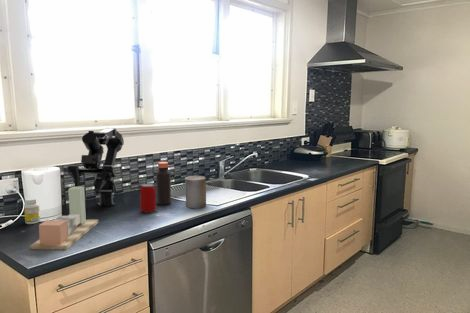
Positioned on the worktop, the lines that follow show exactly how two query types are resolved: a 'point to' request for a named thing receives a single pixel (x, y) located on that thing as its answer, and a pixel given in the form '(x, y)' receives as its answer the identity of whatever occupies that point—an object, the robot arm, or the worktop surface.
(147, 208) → the beverage can
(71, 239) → the base board
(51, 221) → the socket block
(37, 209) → the supplement bottle
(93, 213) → the worktop surface
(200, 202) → the pillar candle
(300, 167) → the worktop surface
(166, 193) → the vinegar
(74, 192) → the pale green slab
